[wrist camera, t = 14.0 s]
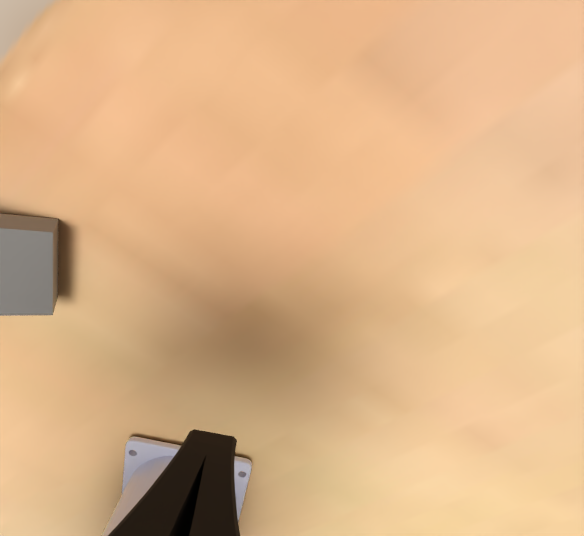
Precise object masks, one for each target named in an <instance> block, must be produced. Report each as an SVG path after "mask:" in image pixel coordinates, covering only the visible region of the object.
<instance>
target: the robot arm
mask: <svg viewBox="0 0 584 536" xmlns="http://www.w3.org/2000/svg"><path fill="white" fill-rule="evenodd" d="M236 442H237V440H236V439H235V438H234V437H232V436H227V435H221V434H216V433H210V432H205V431H199V430H192V431H190V432H189V434H188V436H187V438H186V439H185V441H184V442H183V444H182V446H181V445H176V444H171V443H166V442H161V441H156V440H151V439H146V438H140V437H130V438H129V439H128V441H127V443H126V447H125V460H124V472H123V485H122V495H121V497H120V499H119V501H118V503H117V505H116V507H115V509H114V511H113V513H112V515H111V517H110V519H109V521H108V523H107V525H106V527H105V529H104V531H103V533H102V535H101V536H240V533H239V526H238V521H239V517H240V513H241V509H242V505H243V501H244V497H245V493H246V489H247V485H248V481H249V477H250V473H251V468H252V462H251V461H250V460H249V459H246V458H242V457H237V456H235V447H236ZM134 450H135V451H134ZM241 471H243V472H241Z"/></svg>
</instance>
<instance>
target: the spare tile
mask: <svg viewBox="0 0 584 536" xmlns="http://www.w3.org/2000/svg"><path fill="white" fill-rule="evenodd" d="M57 297H58V219H53V218H43V217H32V216H22V215H11V214H1V213H0V315H53V312H54V308H55V305H56V301H57Z"/></svg>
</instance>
